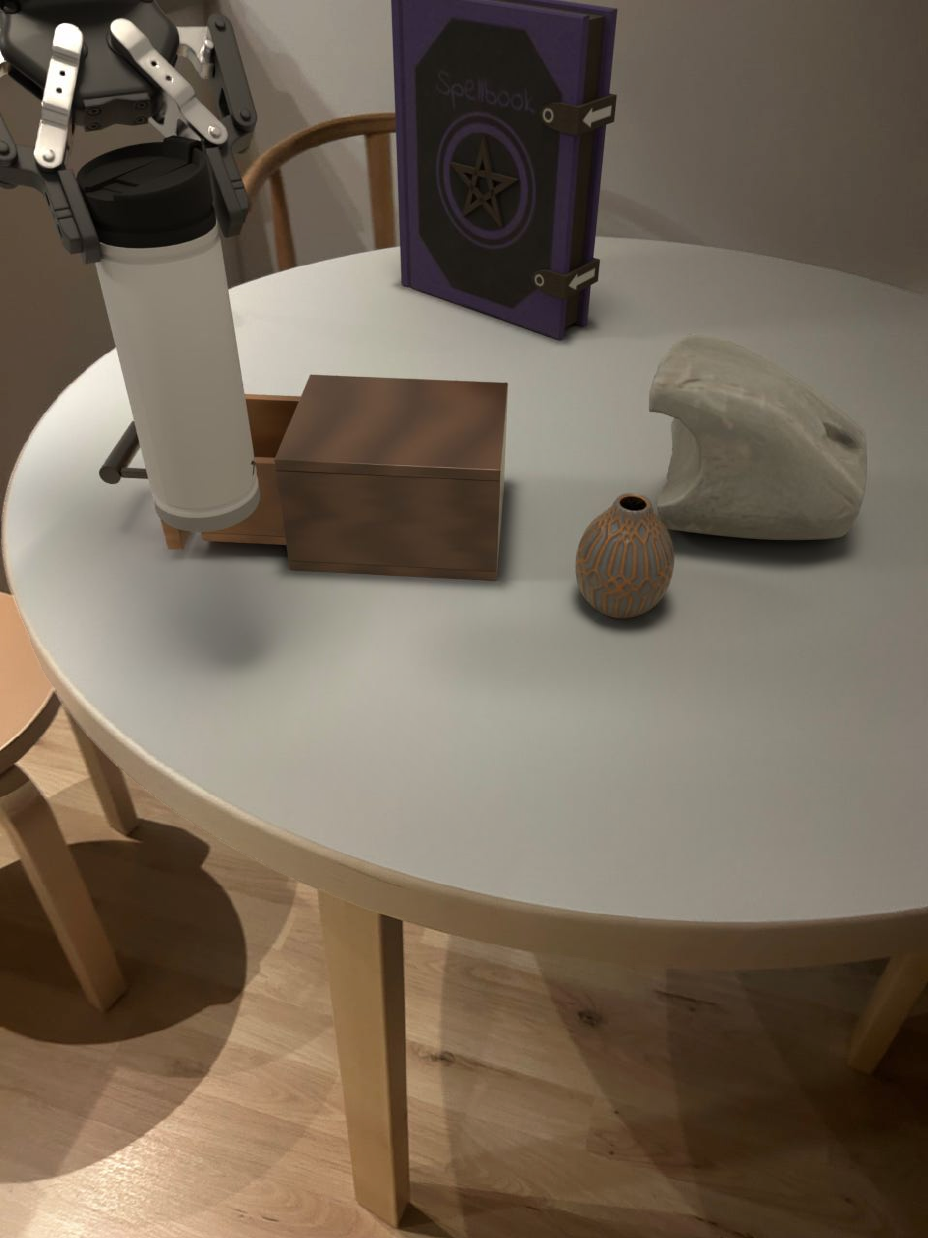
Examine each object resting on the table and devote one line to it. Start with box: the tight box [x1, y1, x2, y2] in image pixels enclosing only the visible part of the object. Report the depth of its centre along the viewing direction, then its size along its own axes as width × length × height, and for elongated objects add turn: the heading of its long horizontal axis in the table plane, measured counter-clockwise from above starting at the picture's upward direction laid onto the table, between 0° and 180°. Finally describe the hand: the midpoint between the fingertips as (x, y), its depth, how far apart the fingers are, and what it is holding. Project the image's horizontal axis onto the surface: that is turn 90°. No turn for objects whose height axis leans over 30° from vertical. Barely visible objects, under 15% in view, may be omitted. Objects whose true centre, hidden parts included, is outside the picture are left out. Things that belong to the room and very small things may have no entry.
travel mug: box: [75, 135, 260, 533], centre depth 52 cm, size 6×7×20 cm
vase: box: [575, 492, 675, 619], centre depth 68 cm, size 7×7×9 cm
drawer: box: [98, 393, 301, 551], centre depth 75 cm, size 20×12×8 cm, turn 86°
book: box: [390, 0, 618, 342], centre depth 100 cm, size 24×6×30 cm, turn 50°
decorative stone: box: [648, 333, 868, 541], centre depth 73 cm, size 12×17×15 cm
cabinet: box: [274, 374, 509, 582], centre depth 74 cm, size 16×13×10 cm
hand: (165, 241), depth 47 cm, fingers closed on travel mug, 6 cm apart
